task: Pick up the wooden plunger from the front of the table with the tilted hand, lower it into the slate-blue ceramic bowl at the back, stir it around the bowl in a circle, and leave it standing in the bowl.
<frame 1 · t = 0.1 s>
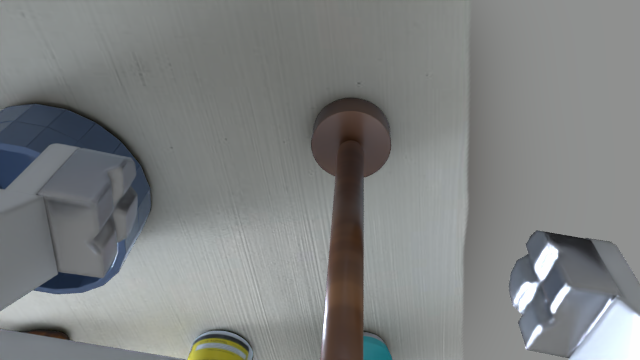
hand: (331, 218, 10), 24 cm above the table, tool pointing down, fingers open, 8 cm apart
pill bottle: (224, 345, 53), on the table
croissant: (23, 341, 55), on the table
wooden plunger: (351, 132, 37), on the table
beverage can: (362, 344, 51), on the table
bowl: (67, 179, 41), on the table
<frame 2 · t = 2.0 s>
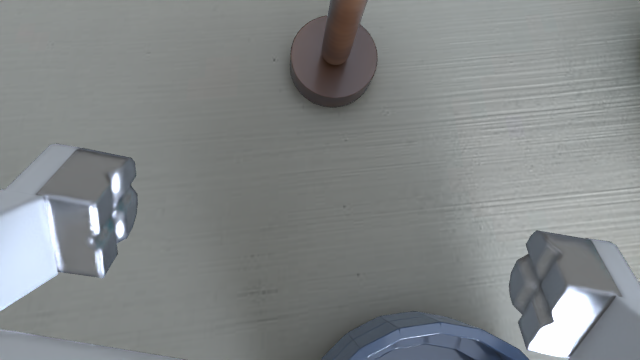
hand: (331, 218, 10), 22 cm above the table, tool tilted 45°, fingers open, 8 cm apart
wooden plunger: (331, 67, 34), on the table
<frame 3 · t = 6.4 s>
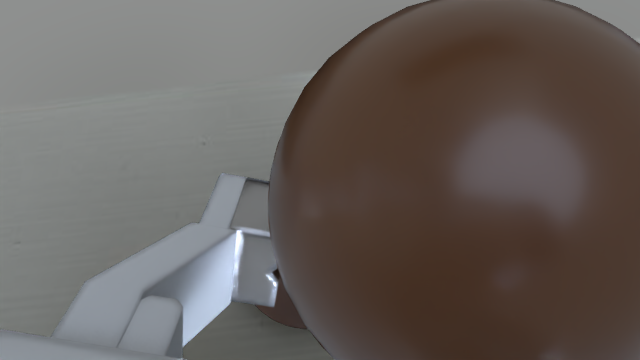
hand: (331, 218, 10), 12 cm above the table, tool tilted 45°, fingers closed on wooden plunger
wooden plunger: (306, 256, 22), on the table, touching gripper
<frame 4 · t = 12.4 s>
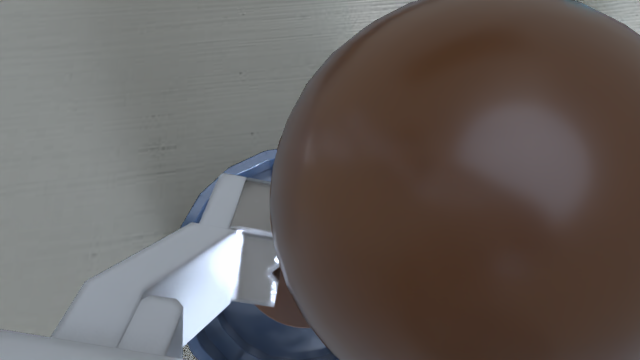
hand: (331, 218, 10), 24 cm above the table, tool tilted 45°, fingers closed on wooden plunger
wooden plunger: (306, 256, 22), point 12 cm above the table, touching gripper
bowl: (299, 270, 33), on the table
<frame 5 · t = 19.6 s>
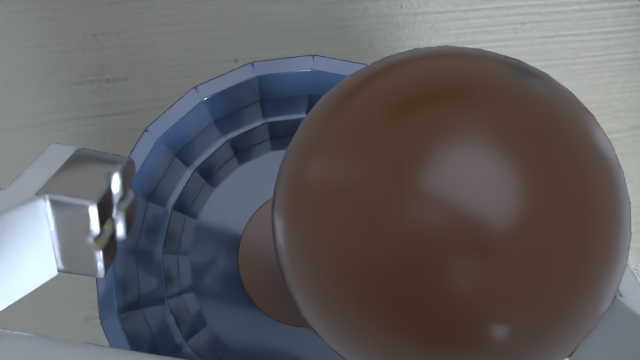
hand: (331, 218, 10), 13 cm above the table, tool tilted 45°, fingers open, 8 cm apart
wooden plunger: (305, 256, 22), point 1 cm above the table, touching bowl
bowl: (304, 256, 23), on the table
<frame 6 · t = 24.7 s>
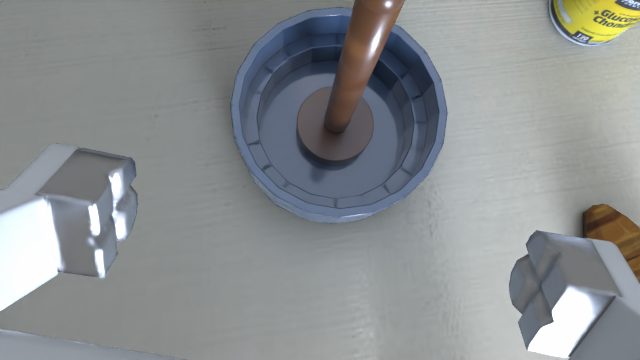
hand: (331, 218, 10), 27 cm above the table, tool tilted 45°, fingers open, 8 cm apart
pill bottle: (581, 13, 42), on the table
croissant: (621, 288, 39), on the table
wooden plunger: (333, 130, 38), point 1 cm above the table, touching bowl
bowl: (332, 131, 39), on the table
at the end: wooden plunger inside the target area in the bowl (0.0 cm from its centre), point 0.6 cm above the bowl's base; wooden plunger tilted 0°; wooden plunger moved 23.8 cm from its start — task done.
